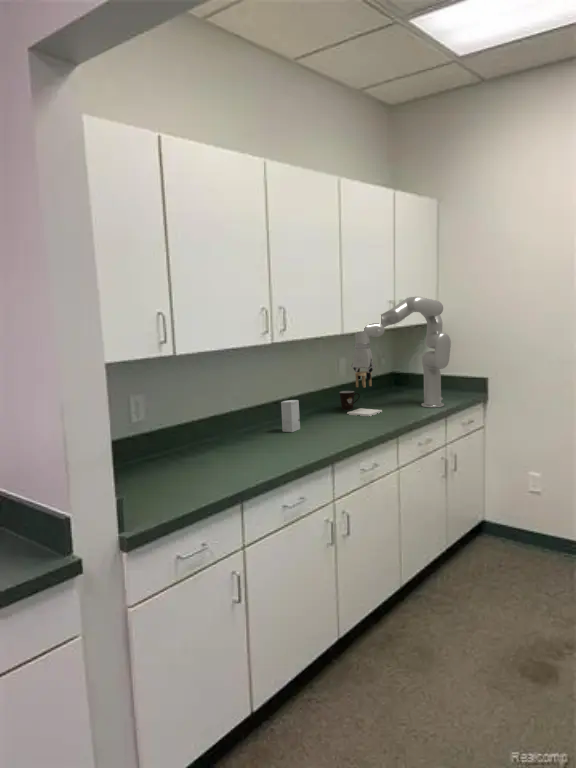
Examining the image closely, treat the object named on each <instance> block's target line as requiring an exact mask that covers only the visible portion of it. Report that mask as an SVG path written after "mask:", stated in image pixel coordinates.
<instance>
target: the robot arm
mask: <svg viewBox="0 0 576 768" xmlns="http://www.w3.org/2000/svg"><path fill="white" fill-rule="evenodd" d="M443 311H444V305H443V304H442V302H440V301H439V300H437V299H432V298H431V299H430V298H427V297H422V296H409V297H406V298H405V299H404V300H402V301H401V302H399V303H398V304H396V305H395V306H393V307H391V308H390V309H388V310H387V311H385V312H383V313H381V314H380V315H381V324H379V323H372V324H369V325H366V326H365V328H364V331H363V332H357V333H355V332H354V333H355V344H354V345H353V348H355V349H354V351H353V356H352V357H353V358H352V360H353V361H352V364H350V367H351V368H352V369H353V371H354V372H355V373H357V372H361V368H362V369H365V371H367V374H366V376H365V380H366V381H369V380H370V378H371V379H372V374H371V373H372V372H373V370H374V369H375V368H376V367H377V365H376V364H375V362H374V361H373V353H372V350H371V348H370V346H371V345H370V344H371V343H370V341H371V340H370V337H373V338H379V337H381V336H383V335H384V334H385V330H386V329H385V328H386V327H389V326H392V325H396V324H397V323H398V324H399V323H400V322H401V321H403V320H404V319H406V318H407V317H409V316H410V315H412V314H413V313H420V314H421V315H422V316H423V317H424V319H425V321H426V333H425V334H426V337H425V344H426V347H427V348H429V349H433V350H428V351H426V352H424V354H423V355H422V357H421V365H422V370H423V371H422V372H423V402H422V403H421V407H423V408H441V407H444V406H445V403H443V402H442V401H443V396H442V377H441V375H442V374H441V370H442V369H445V368H447V366H448V365H449V363H450V355H451V354H450V353H451V346H452V345H451V344H452V342H451V338H450V335H448V333H446V332H444V331H443V319H442V316H441V314H443ZM360 380H362V376H358V381H360Z"/></svg>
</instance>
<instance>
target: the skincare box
mask: <svg viewBox="0 0 576 768" xmlns="http://www.w3.org/2000/svg"><path fill="white" fill-rule="evenodd" d="M299 401H300V400H298V399H290V400H283V401H281V402H280V406H281V407H280V408H281V427H282V428H281V430H282V432H283V433H285V432H286V433H294V432H297V431H299V430H301V422H300V421H301V420H300V405H299V404H300V403H299Z"/></svg>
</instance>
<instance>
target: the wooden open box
mask: <svg viewBox="0 0 576 768" xmlns="http://www.w3.org/2000/svg"><path fill="white" fill-rule="evenodd" d="M354 374H355V388H359V380H358V376H361V386H362V388H366V383H367V382H366V374H367V370H362V371H361V370H360V372H357V373H356V372H355V373H354ZM372 374H373V373H372V372H371V375H372ZM368 386H369V387H372V386H373V385H372V377H371V378H370V380H368Z"/></svg>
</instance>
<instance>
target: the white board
mask: <svg viewBox="0 0 576 768" xmlns="http://www.w3.org/2000/svg"><path fill="white" fill-rule="evenodd" d="M380 412H381V413H383V410H382V409H374V408H373V409H371V408H357V409H354V410H353V409H352V410H349V411H347V413H346V415H347V414H349V415H348V416H357V415H360V416H361V417H369V416H370V417H372V415H373V416H376V415H378V414H380ZM377 413H378V414H377Z"/></svg>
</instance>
